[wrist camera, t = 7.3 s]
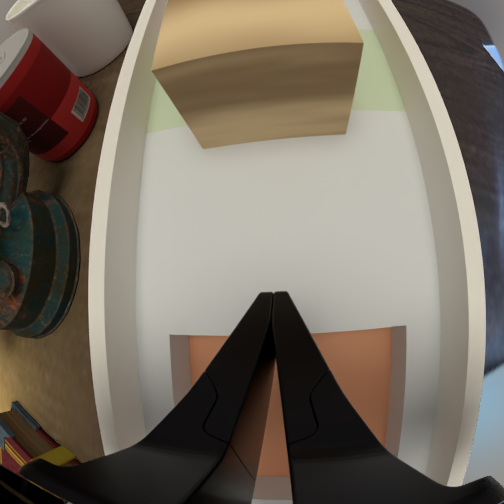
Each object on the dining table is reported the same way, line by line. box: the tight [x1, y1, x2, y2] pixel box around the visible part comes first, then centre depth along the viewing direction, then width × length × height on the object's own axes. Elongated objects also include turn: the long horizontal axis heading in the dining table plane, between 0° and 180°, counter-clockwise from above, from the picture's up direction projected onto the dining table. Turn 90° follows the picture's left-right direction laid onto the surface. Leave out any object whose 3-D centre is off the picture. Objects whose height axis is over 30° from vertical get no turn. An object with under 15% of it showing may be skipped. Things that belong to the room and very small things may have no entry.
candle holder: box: [6, 0, 133, 77], centre depth 19 cm, size 10×10×12 cm
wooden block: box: [151, 0, 364, 149], centre depth 13 cm, size 12×8×7 cm, turn 3°
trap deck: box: [88, 0, 486, 504], centre depth 16 cm, size 40×18×6 cm, turn 2°
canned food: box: [0, 28, 97, 161], centre depth 17 cm, size 8×8×11 cm
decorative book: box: [0, 401, 80, 500], centre depth 15 cm, size 11×16×5 cm
